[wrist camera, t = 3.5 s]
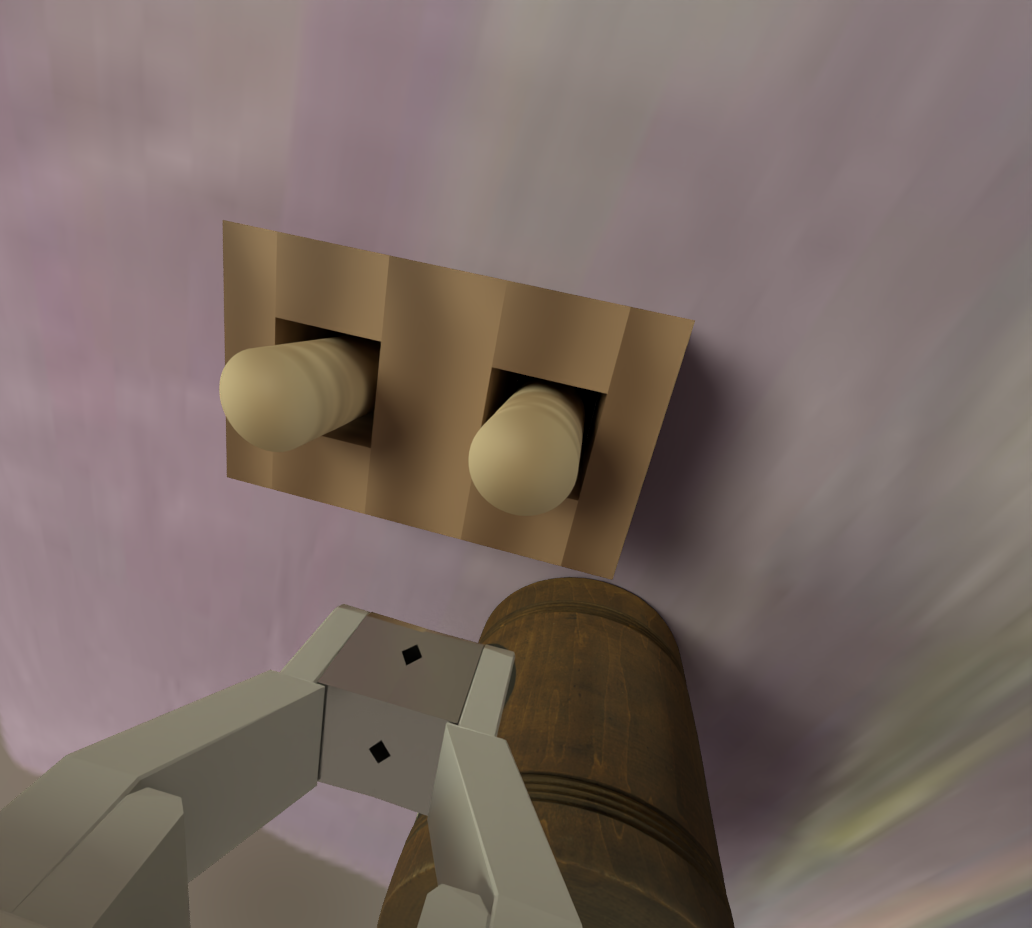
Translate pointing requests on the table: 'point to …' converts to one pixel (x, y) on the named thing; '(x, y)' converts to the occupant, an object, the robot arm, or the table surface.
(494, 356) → the socket block
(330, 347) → the peg
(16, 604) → the table surface
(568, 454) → the peg
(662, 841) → the wooden container
